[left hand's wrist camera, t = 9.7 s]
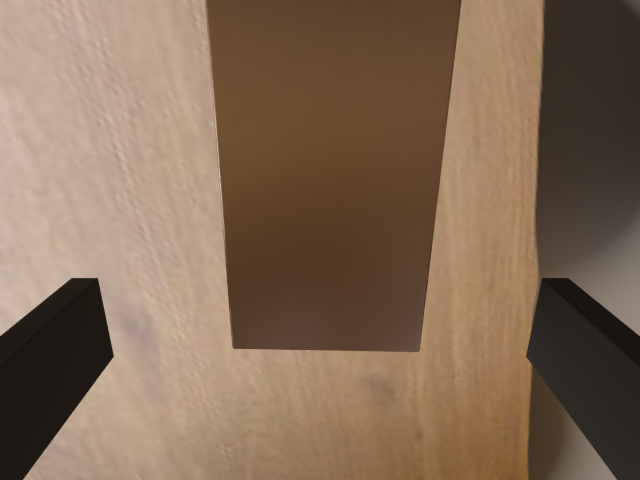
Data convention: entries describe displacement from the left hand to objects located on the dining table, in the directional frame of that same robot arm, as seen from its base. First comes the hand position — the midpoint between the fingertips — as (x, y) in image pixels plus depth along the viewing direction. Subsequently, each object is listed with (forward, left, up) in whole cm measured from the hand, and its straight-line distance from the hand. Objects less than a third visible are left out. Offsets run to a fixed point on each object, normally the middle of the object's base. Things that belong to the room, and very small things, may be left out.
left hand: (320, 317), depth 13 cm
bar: (+10, 0, -8) cm, 13 cm away
